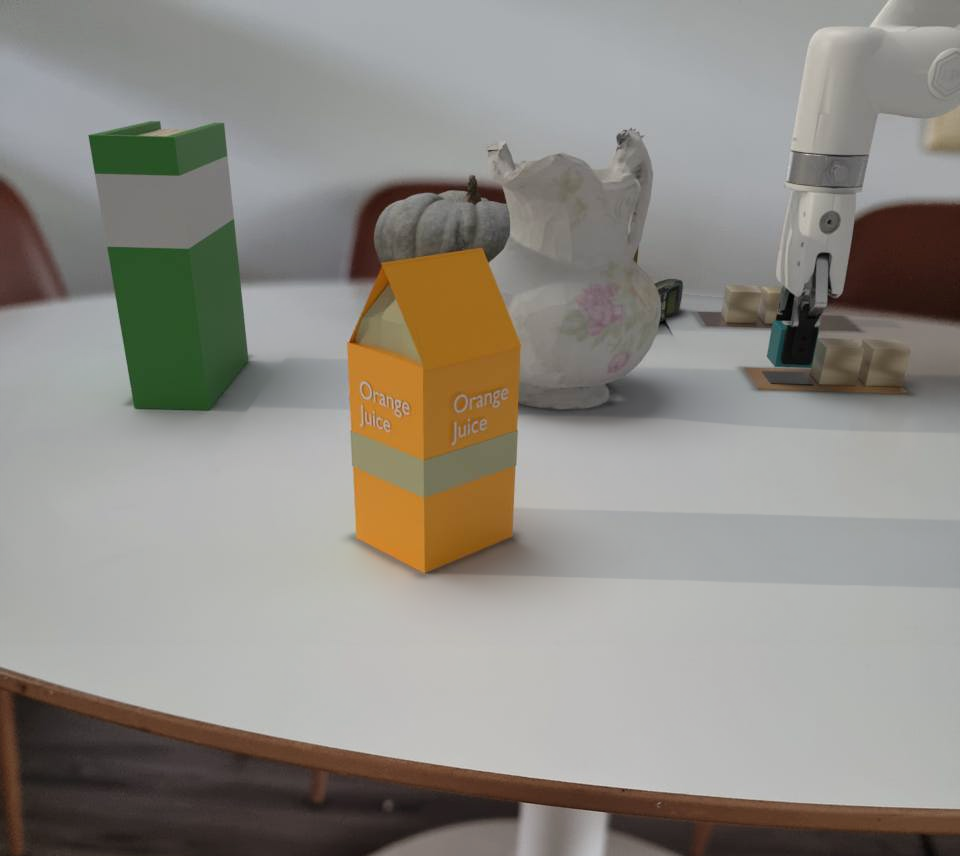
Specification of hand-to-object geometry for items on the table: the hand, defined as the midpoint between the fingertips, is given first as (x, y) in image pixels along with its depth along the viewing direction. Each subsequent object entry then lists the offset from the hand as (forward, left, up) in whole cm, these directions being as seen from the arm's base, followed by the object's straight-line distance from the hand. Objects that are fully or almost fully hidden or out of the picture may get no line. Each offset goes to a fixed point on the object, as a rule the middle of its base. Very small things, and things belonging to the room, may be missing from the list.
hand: (790, 356), depth 106 cm
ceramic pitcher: (+25, +6, -3) cm, 26 cm away
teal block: (0, 0, -1) cm, 1 cm away
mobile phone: (+11, -27, -3) cm, 29 cm away
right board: (-4, 0, -3) cm, 5 cm away
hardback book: (+64, +6, -3) cm, 64 cm away
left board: (-5, -27, -3) cm, 28 cm away
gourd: (+37, -33, -3) cm, 50 cm away
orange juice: (+36, +43, -3) cm, 56 cm away
